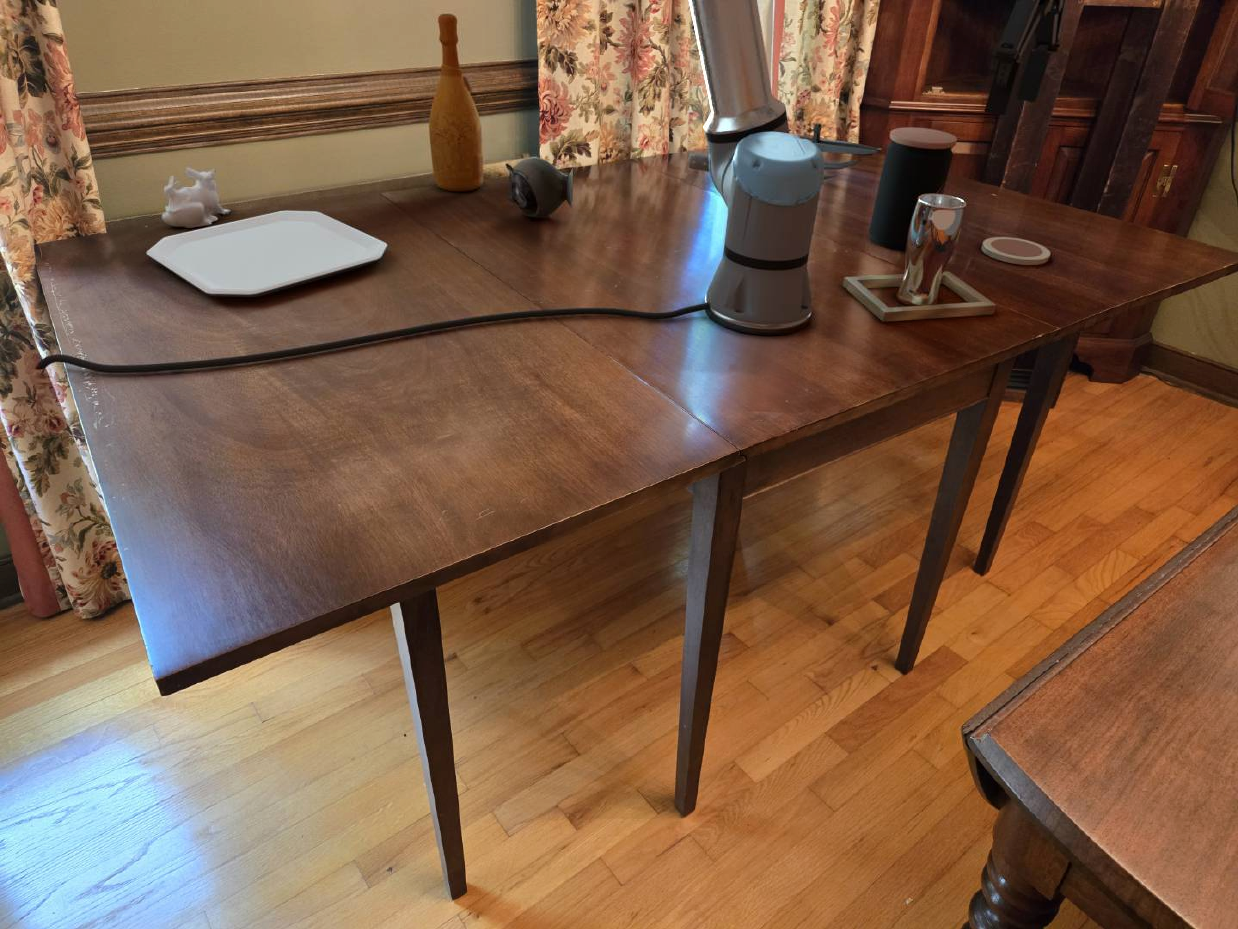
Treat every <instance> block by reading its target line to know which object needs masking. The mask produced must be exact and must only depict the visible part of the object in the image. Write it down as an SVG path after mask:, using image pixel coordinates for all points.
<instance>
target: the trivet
mask: <svg viewBox="0 0 1238 929" xmlns="http://www.w3.org/2000/svg"><path fill="white" fill-rule="evenodd" d="M981 251H982V252H983V253H984V254H985V255H986V256H989V257H990V258H992V259H995V260H997V261H1000V262H1004V263H1008V264H1014V265H1019V266H1020V265H1021V266H1039V265H1043V264H1046V263H1048V261H1050V258H1051V251H1050V250H1049V249H1048V248H1047V247H1045V246H1044V245H1041V244H1039V243H1036V242H1034V241H1031V240H1028V239H1023V238H1017V237H1009V236H994V237H989V238H986V239H984V240H983V241H982V244H981Z"/></svg>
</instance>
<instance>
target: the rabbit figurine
mask: <svg viewBox="0 0 1238 929" xmlns="http://www.w3.org/2000/svg"><path fill="white" fill-rule="evenodd" d="M215 172H216V168H212V169H211V170H209V171H197V170H196V169H193V168H191V167H188V166H186V167H185V170H184V176H185V177H187V178H191V179H195V184H193V185H192V186H183V187H181V188H179V189H176V188H177V187H179V186H180V185H181V181H180V180H176V181H175V182H174V180H175V176H174V175H171V176H170V177H169V180H168V184H167V185H165V186H164V188H163V194H164V196H165V197H167V198H168V205H167V206H166V205H165V207H164V209H165V213H162V215H161V219H162V221H163V222H164V223H165V224H166V225H169V226H171V227H175V228H188V229H193V228H197V227H204V226H210V225H212V224H213V223H212V222H215V221H218V220H219V218H218V217H217V216H216V215H212V213H211V212H213V213H217V214H221V215H224V216H225V215H228V214H229V213H231V210H230V209H228V208H223V207H222V205H220V204H219V200H220V199H219V195H218V192H217V183H216V180H215Z"/></svg>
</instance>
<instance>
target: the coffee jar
mask: <svg viewBox="0 0 1238 929" xmlns="http://www.w3.org/2000/svg"><path fill="white" fill-rule="evenodd" d="M889 139H890V141H891V142H890V143H889V144H888V146H887V148H886V150H885V155H884V160H883V165H882V170H881V174H880V177H879V183H878V188H877V192H876V196H875V201H874V206H873V210H872V215H871V220H870V225H869V230H868V233H869V235H870V239H871V241H872V243H874V244H876V245H877V246H880V247H883V248H886V249H890V250H895V251H903V252H906V247H907V237H908V232H909V227H910V223H911V219H912V216H913V213H914V210H915V207H916V204H917V201H918V197H919V196H920V195H923V194H944V191H945V188H946V183H947V180H948V177H949V172H950V169H951V165H952V161H953V157H954V152H953V150H952V149H953V148H954V147H955V146H956V145H957V141H958V138H957V137H956V136H955V135H954V134H951V133H950V132H946V131H943V130H938V129H933V128H927V127H911V126H910V127H897V128H894V129H891V130H890V133H889Z"/></svg>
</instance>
